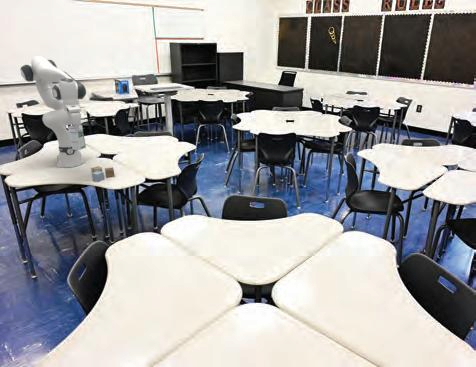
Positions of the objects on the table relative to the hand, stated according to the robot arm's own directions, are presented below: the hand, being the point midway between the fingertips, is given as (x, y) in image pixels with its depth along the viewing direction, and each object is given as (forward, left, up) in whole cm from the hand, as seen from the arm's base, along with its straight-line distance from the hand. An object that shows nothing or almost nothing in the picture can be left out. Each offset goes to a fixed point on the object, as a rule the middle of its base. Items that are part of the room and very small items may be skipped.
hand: (76, 130), depth 212 cm
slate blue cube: (+8, +7, -31) cm, 33 cm away
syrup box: (0, 0, -12) cm, 12 cm away
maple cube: (-3, +9, -31) cm, 33 cm away
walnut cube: (+5, +15, -31) cm, 35 cm away
